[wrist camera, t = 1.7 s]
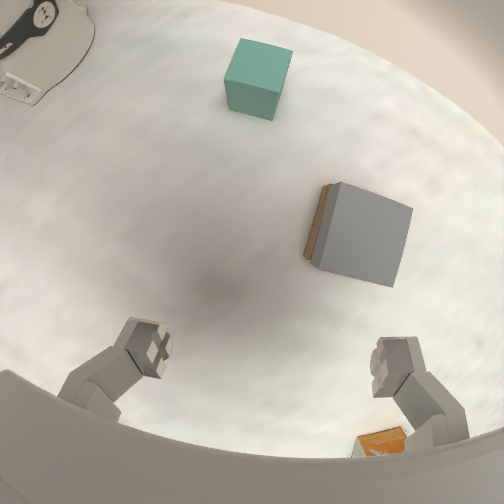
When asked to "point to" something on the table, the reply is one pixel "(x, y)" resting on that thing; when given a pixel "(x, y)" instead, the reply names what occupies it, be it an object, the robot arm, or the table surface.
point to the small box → (380, 443)
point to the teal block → (256, 78)
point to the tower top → (361, 235)
